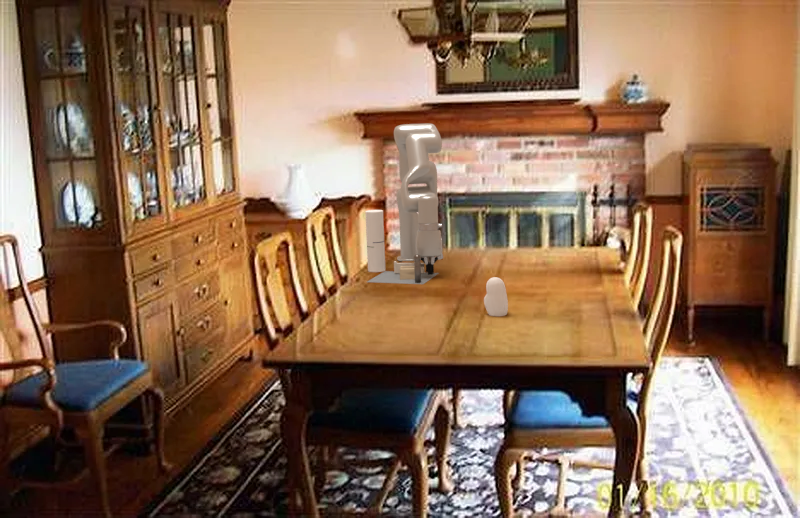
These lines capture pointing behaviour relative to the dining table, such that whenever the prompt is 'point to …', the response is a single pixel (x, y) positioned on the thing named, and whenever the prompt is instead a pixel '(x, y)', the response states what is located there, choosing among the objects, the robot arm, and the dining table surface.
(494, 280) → the figurine
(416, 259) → the gate posts
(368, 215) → the cylindrical container
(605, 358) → the dining table surface
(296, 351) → the dining table surface
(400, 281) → the slate mat
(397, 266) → the gate
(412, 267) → the block
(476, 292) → the dining table surface
